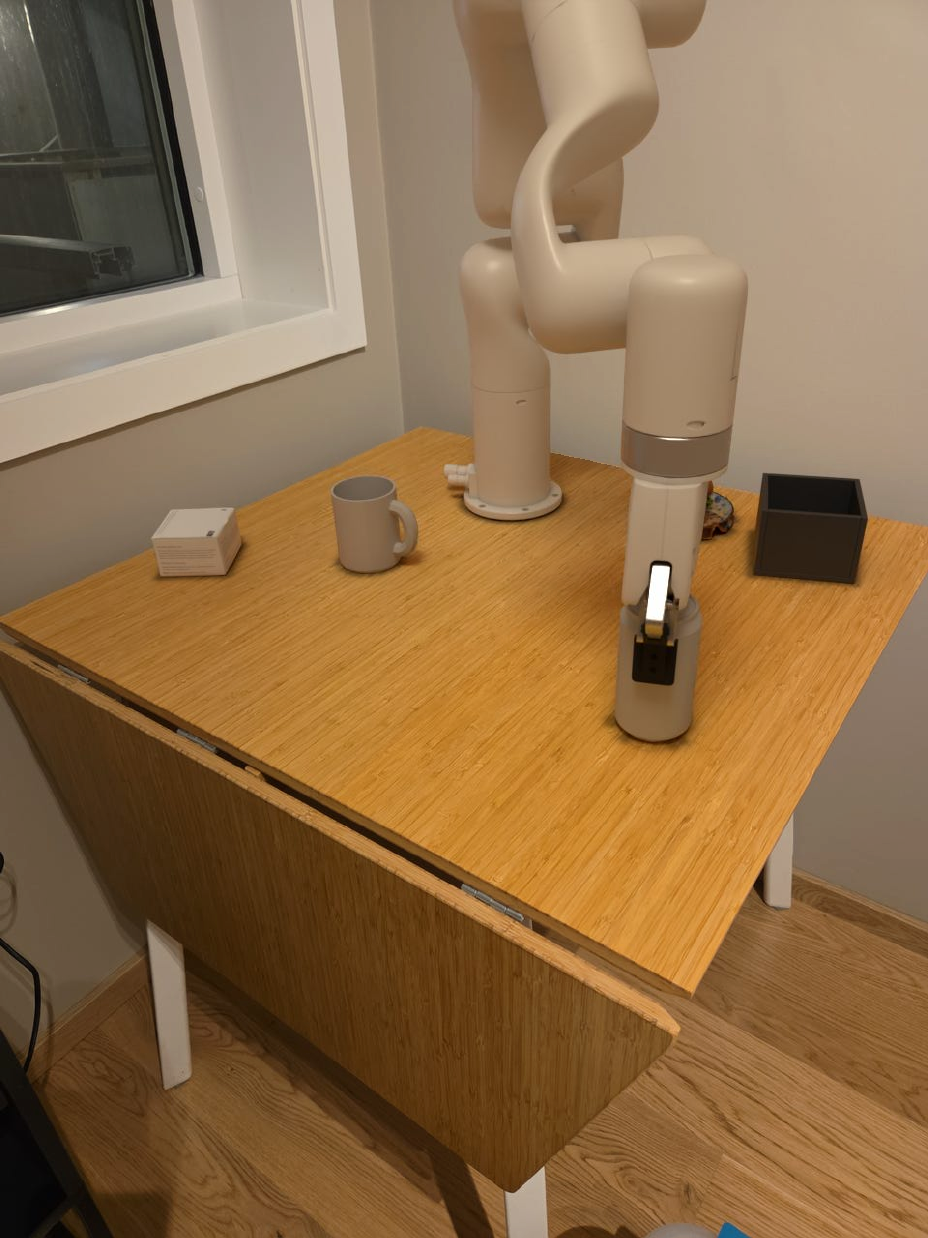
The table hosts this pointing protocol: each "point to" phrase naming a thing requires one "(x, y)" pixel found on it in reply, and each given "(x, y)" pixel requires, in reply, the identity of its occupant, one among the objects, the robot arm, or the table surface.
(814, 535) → the bin
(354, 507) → the cup
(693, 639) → the beverage can
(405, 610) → the table surface
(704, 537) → the burger on plate
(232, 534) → the small box
